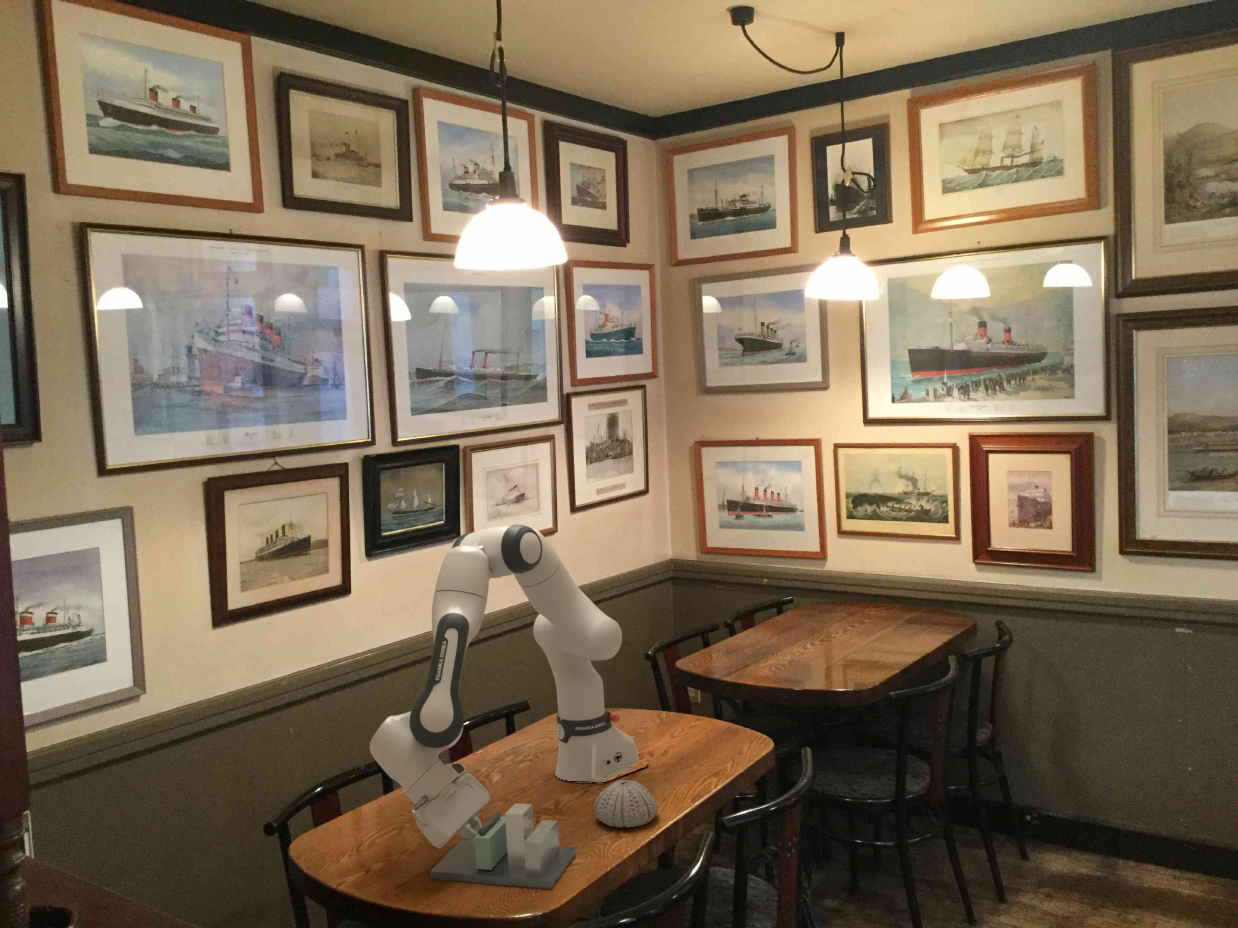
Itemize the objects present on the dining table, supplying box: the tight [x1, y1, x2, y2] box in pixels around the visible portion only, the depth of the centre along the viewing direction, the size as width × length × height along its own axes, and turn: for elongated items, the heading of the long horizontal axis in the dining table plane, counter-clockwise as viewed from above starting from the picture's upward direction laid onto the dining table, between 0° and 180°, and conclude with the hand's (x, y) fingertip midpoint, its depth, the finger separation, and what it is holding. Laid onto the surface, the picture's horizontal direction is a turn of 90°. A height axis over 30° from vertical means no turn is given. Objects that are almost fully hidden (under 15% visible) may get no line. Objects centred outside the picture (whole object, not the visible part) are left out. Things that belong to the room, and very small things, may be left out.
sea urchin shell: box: [593, 779, 658, 829], centre depth 210 cm, size 13×14×8 cm
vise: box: [429, 819, 576, 890], centre depth 191 cm, size 24×14×8 cm, turn 74°
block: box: [504, 803, 535, 867], centre depth 190 cm, size 4×5×10 cm
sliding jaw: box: [474, 811, 507, 870], centre depth 192 cm, size 3×10×7 cm, turn 164°
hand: (483, 840), depth 192 cm, fingers closed, pressing on sliding jaw
